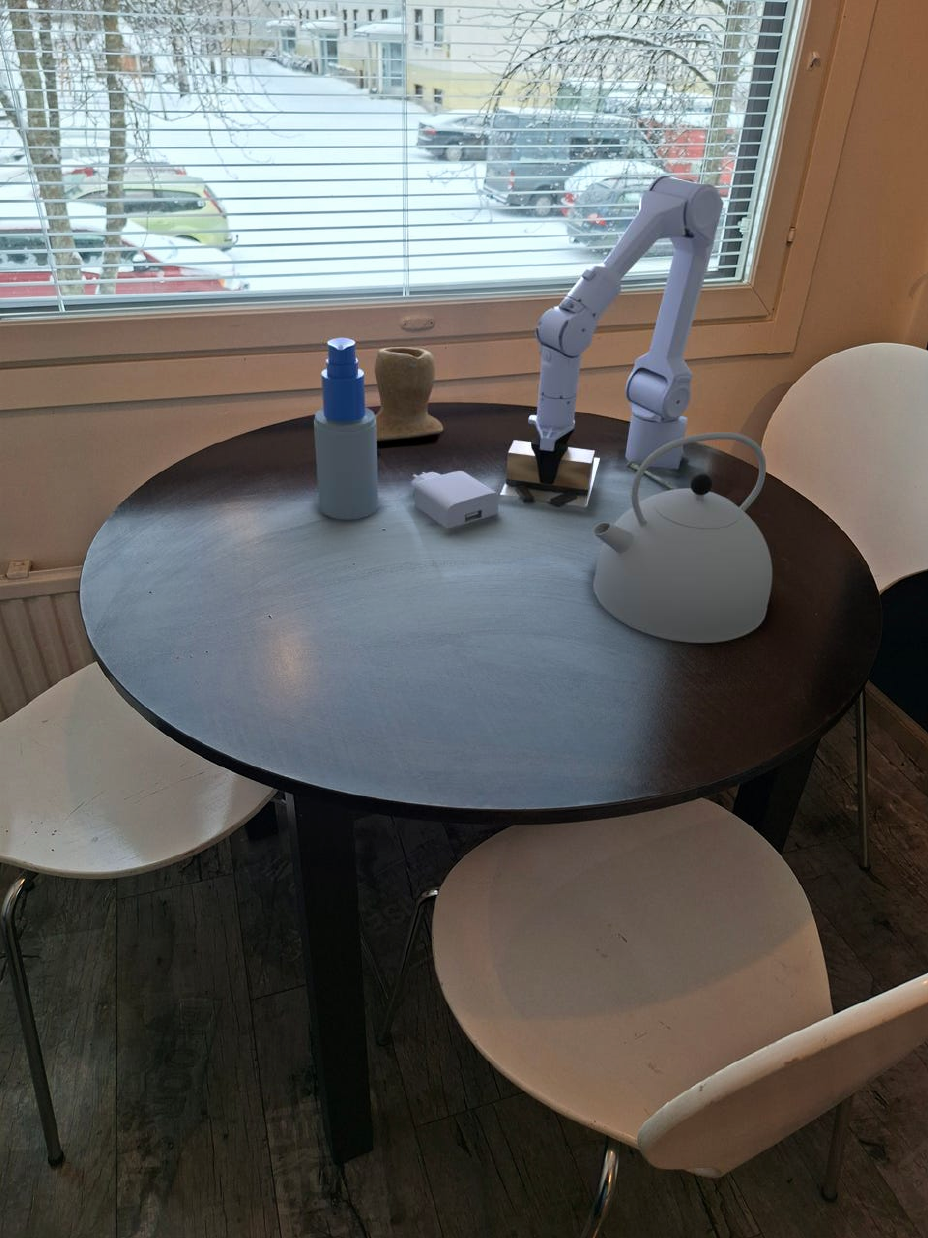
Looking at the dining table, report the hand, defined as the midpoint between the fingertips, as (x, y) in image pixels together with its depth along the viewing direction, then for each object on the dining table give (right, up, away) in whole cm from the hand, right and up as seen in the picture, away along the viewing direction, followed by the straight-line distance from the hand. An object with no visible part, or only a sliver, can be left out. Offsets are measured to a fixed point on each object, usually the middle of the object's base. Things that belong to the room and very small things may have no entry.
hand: (549, 475), depth 138 cm
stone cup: (-25, +10, +18) cm, 33 cm away
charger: (-17, -6, -4) cm, 18 cm away
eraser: (0, -1, +1) cm, 1 cm away
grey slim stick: (+20, -3, +1) cm, 20 cm away
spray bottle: (-31, -6, -5) cm, 32 cm away
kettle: (+14, -20, -22) cm, 33 cm away
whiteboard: (+1, 0, +4) cm, 5 cm away
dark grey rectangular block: (-4, -4, -2) cm, 6 cm away
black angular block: (+2, -5, -3) cm, 6 cm away
